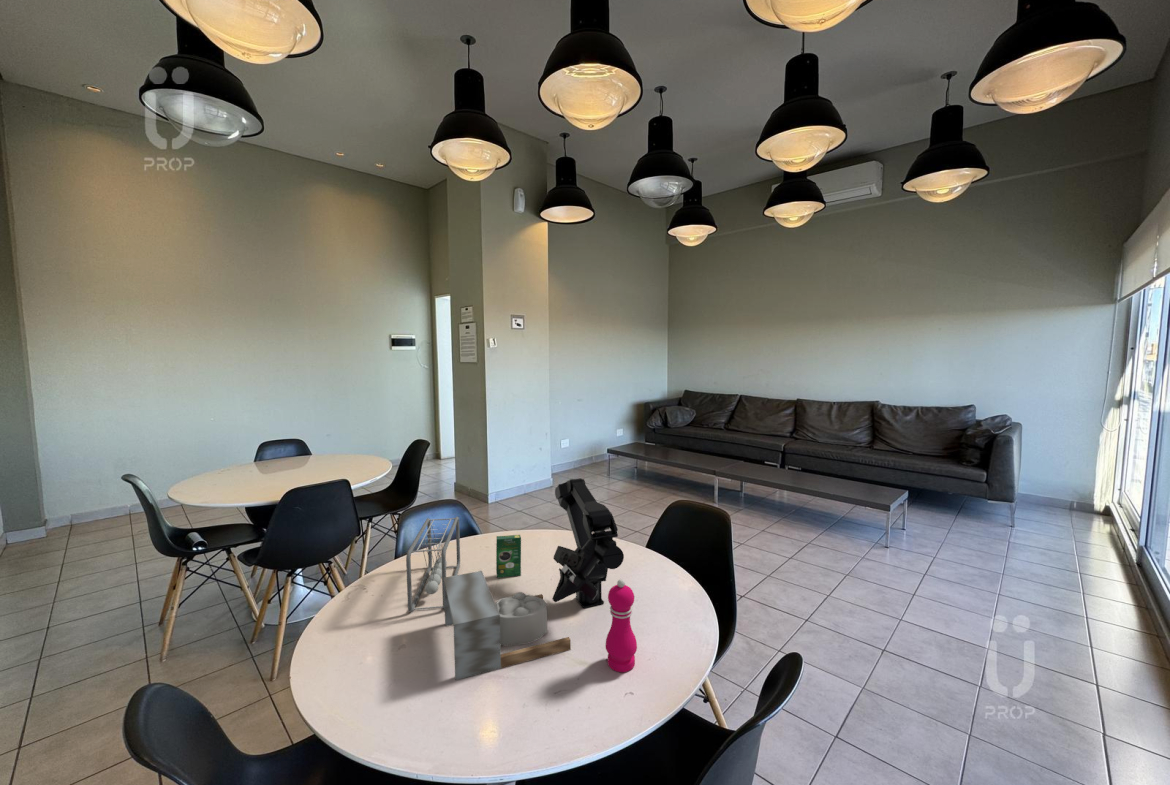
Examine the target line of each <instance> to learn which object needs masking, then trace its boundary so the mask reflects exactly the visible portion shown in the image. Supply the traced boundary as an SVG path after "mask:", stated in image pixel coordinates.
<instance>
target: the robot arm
mask: <svg viewBox="0 0 1170 785" xmlns="http://www.w3.org/2000/svg"><path fill="white" fill-rule="evenodd" d="M554 495H555V496H554V497H555V499H557V502H558V504H559V507H561V508H562V509H563V510H564V511H566V514H567V517H568V520H569V523H570V527H571V532H572V534H573V538H574V541H575V543H576V549H574V550H573V549H571V548H568V547H564V546H561V545H558V546H557V548H556V550H555V552H554V555H553V560H554V561H555V563H556V564H559V565H561V566H562V568H560V567H559V569H558V571H559V576H560V578H559V580H558V584H557V586H556V589H555V591H554V594H553V596H552V599H551V600H552V601H553V602H554V603H557V602H559V601H561V600H564V599H565V598H569V597H570V596H572V595H574V594H575V599H576V600H577V602H578V604H580V605H581V607H582V608H583V609H587V608H591V607H595V606H600V605H603V604H605V601H604V600H603V598H602V582H606V581H607V577H608V570H615V569H618V568H619V567H621V566H622V564H623V562H624V560H625V559H624V558H625V555H624V552H623V550H622V549H621V548H620V547H619V546H618V545H617V542H616V540H614V539H613V538H618V536H619V534H618V526H617V524H616V521H615V518H614V516H613V513H612V512H611V511H610V509H609V508H608V507H607V506H606V505H605V504H603V503H599V502H598V501H597V500H596V498H595V496H594V495H593V494H592V492H591V491H590V489H589V488H588V486H587V485H586V481H585V479H584V478H570V479H569V480H566V482H563V483H558V485H557V486H556V487H555V489H554Z"/></svg>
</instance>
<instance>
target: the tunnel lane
mask: <svg viewBox="0 0 1170 785" xmlns="http://www.w3.org/2000/svg"><path fill="white" fill-rule="evenodd" d="M534 596H536V597H539V598H541V599H543V600H544V595H543V594H542V593H541V594H535V595H534ZM444 603H445V609H444V625H448V626H452V627H453V646H454V648H453V649H454V651H453V653H454V654H453V655H454V657H453V658H454V678H455V681H458V680H462V679H465V678H469V677H473V676H476V675H477V676H478V675H480V674H484V673H487V672H488V673H489V672H491V671H492V672H493V671H496V670H501V669H503V668H506V667H511V666H513V665H515V666H516V665H518V664H521V663H526V662H529V661H533V660H537V659H541V658H544V657H548V656H551V655H556V654H560V653H563V652H567V651H570V650H571V648H572V647H571V646H572V645H571V644H572V643H571V638H570V636H567V637H562V638H559V639H555V640H552V641H548V642H544V643H540V644H536V645H532V646H528V647H524V648H519V649H516V650H513V651H509V652H508V651H507V652H505V653H501V645H500V614H499V612H498V609H497V607H496V603H495V600H494V597H493V594H492V593H491V589H490V588H489V585H488V583H487V579H486V578H485V574H484V573H483V570H478V571H472V572H468V573H467V572H466V573H462V574H457V575H456V576H454V575H451V576H446V577H445V578H444ZM451 624H453V625H451Z"/></svg>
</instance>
